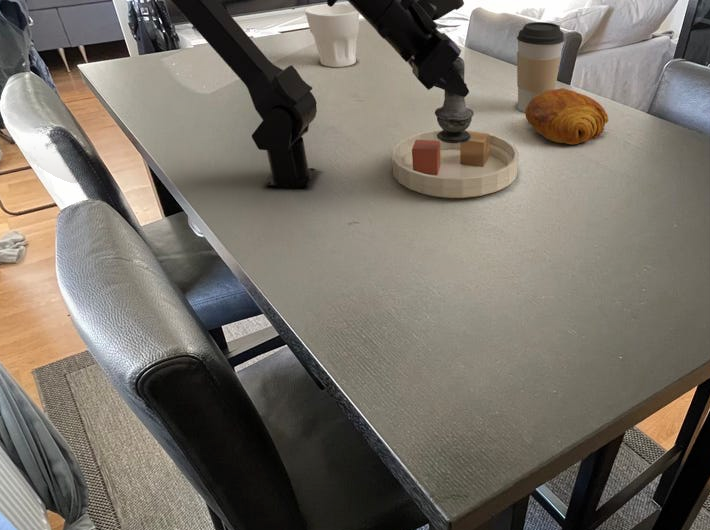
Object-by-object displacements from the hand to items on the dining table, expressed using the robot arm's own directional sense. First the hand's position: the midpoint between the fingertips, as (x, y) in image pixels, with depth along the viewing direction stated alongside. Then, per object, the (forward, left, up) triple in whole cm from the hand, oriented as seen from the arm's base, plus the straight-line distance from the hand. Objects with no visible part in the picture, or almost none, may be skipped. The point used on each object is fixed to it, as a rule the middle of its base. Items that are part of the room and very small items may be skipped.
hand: (463, 90), depth 85 cm
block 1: (+2, +6, -13) cm, 14 cm away
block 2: (+6, -2, -13) cm, 14 cm away
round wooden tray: (+2, +1, -13) cm, 13 cm away
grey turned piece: (0, +1, -7) cm, 7 cm away
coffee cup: (+35, -14, -13) cm, 40 cm away
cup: (+65, +32, -13) cm, 74 cm away
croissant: (+22, -19, -13) cm, 32 cm away
